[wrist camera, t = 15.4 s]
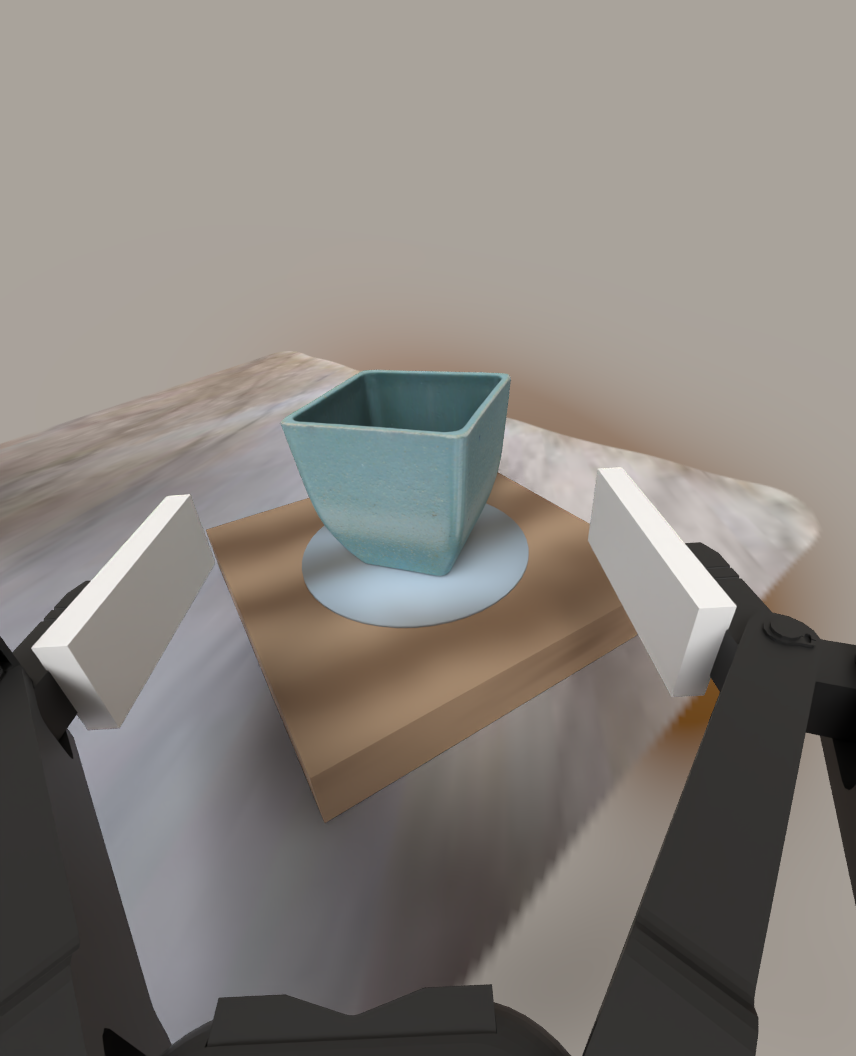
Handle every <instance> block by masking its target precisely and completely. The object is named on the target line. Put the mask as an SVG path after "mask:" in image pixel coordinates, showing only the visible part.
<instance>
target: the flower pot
mask: <svg viewBox="0 0 856 1056" xmlns="http://www.w3.org/2000/svg"><path fill="white" fill-rule="evenodd" d="M510 381H511V377H510V376H509V375H508V374H501V373H483V372H479V373H477V372H433V371H432V372H431V371H391V370H365V371H362V372H360V373H358V374H356V375H354V376H353V377H351V378H349V379H348V380H346V381H345V382H343V383H341V384H340V385H338V386H336V387H335V388H333V389H331V390H330V391H328V392H327V393H325V394H324V395H322V396H320V397H319V398H317V399H315V400H314V401H312V402H310V403H309V404H307V405H305V406H303V407H302V408H300V409H299V410H297V411H295V412H293V413H292V414H290V415H288V416H287V417H285V418H284V419H283V420H282V421H281V423H280V424H281V426H282V428H283V431H284V434H285V436H286V439H287V442H288V444H289V447H290V450H291V452H292V455H293V457H294V460H295V462H296V465H297V468H298V470H299V473H300V475H301V478H302V480H303V483H304V486H305V488H306V491H307V493H308V495H309V498H310V500H311V502H312V504H313V507H314V509H315V511H316V512H317V514H318V516H319V518H320V519H321V521H322V522H323V524H324V525H325V527H326V528H327V529H328V530H329V531H330V533H331V534H332V535H333V536H334V537H335V538H336V539H337V540H338V541H339V542H340V543H341V544H342V545H343V546H344V547H345V548H346V549H347V550H348V551H350V552H351V553H352V554H353V555H355V556H356V557H357V558H359V559H360V560H361V561H363V562H364V563H367V564H372V565H379V566H384V567H390V568H397V569H402V570H408V571H414V572H419V573H425V574H430V575H435V576H443V575H446V574H447V573H449V572H450V570H451V569H452V567H453V565H454V563H455V562H456V560H457V558H458V556H459V554H460V552H461V550H462V548H463V546H464V544H465V543H466V541H467V539H468V537H469V535H470V533H471V531H472V529H473V527H474V525H475V524H476V522H477V520H478V518H479V516H480V514H481V512H482V510H483V509H484V506H485V504H486V502H487V500H488V498H489V495H490V493H491V490H492V488H493V485H494V482H495V479H496V476H497V472H498V468H499V464H500V459H501V453H502V446H503V439H504V431H505V423H506V415H507V407H508V399H509V390H510Z"/></svg>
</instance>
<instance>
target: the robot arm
mask: <svg viewBox="0 0 856 1056" xmlns="http://www.w3.org/2000/svg"><path fill="white" fill-rule="evenodd" d="M588 542H589V544H590V545H591V547H592V549H593V551H594V553H595V555H596V557H597V559H598V560H599V562H600V564H601V566H602V568H603V570H604V572H605V573H606V575H607V577H608V579H609V581H610V583H611V585H612V587H613V588H614V590H615V592H616V594H617V596H618V598H619V600H620V602H621V603H622V605H623V607H624V609H625V611H626V613H627V615H628V617H629V618H630V620H631V622H632V624H633V626H634V628H635V630H636V632H637V633H638V635H639V637H640V639H641V641H642V643H643V645H644V647H645V648H646V650H647V652H648V654H649V656H650V658H651V660H652V661H653V663H654V665H655V667H656V669H657V671H658V673H659V675H660V676H661V678H662V680H663V682H664V684H665V686H666V688H667V690H668V691H669V693H670V695H671V697H682V696H699V695H704V694H705V692H706V689H707V686H708V684H709V681H710V678H712V680H713V682H714V683H715V685H716V686H717V688H718V689H719V691H720V694H719V697H718V699H717V702H716V704H715V707H714V710H713V712H712V714H711V717H710V719H709V723H708V725H707V728H706V731H705V733H704V736H703V739H702V741H701V744H700V746H699V749H698V752H697V754H696V757H695V760H694V762H693V765H692V768H691V770H690V773H689V776H688V778H687V781H686V784H685V786H684V789H683V791H682V794H681V797H680V799H679V802H678V805H677V807H676V810H675V813H674V815H673V818H672V820H671V823H670V826H669V828H668V831H667V834H666V836H665V839H664V842H663V844H662V847H661V850H660V852H659V855H658V858H657V860H656V863H655V865H654V868H653V871H652V873H651V876H650V879H649V881H648V884H647V887H646V889H645V892H644V894H643V897H642V900H641V902H640V905H639V908H638V910H637V913H636V916H635V918H634V921H633V923H632V926H631V929H630V931H629V934H628V937H627V939H626V942H625V945H624V947H623V950H622V953H621V955H620V958H619V960H618V963H617V966H616V968H615V971H614V974H613V976H612V979H611V982H610V984H609V987H608V989H607V992H606V995H605V997H604V1000H603V1002H602V1005H601V1008H600V1010H599V1013H598V1015H597V1018H596V1021H595V1024H594V1026H593V1029H592V1031H591V1034H590V1036H589V1039H588V1042H587V1044H586V1047H585V1050H584V1052H583V1055H582V1056H755V1054H756V1046H757V1039H758V1016H757V1013H756V1010H755V1008H754V996H755V990H756V984H757V978H758V974H759V969H760V964H761V958H762V953H763V948H764V943H765V938H766V933H767V928H768V922H769V917H770V912H771V907H772V902H773V897H774V891H775V887H776V881H777V876H778V871H779V866H780V861H781V856H782V851H783V845H784V841H785V835H786V830H787V825H788V820H789V815H790V810H791V805H792V800H793V794H794V789H795V784H796V779H797V774H798V768H799V763H800V758H801V753H802V748H803V743H804V738H805V733H811V734H816V735H820V738H821V742H822V747H823V752H824V757H825V761H826V765H827V771H828V776H829V780H830V785H831V790H832V795H833V799H834V804H835V809H836V813H837V819H838V823H839V828H840V832H841V837H842V842H843V847H844V852H845V857H846V861H847V866H848V871H849V876H850V880H851V885H852V890H853V895H854V899H855V904H856V645H851V644H845V643H839V642H833V641H826V640H822V639H820V638H819V637H818V635H817V634H816V633H815V632H814V630H812V629H811V628H809V627H808V626H807V625H805V624H804V623H802V622H800V621H798V620H796V619H793V618H791V617H789V616H785V615H781V614H776V613H772V612H771V611H770V610H769V608H768V607H767V606H766V605H765V604H764V603H763V602H762V601H761V600H760V598H759V597H758V596H757V595H756V594H755V593H754V592H753V591H752V590H751V588H750V587H749V586H748V585H747V584H746V583H745V582H744V581H743V580H742V579H740V578H739V575H738V574H737V573H736V572H735V571H734V570H733V569H732V568H730V565H729V564H728V563H727V562H726V561H725V560H724V559H723V557H722V556H721V555H720V554H719V553H718V552H716V551H714V550H713V549H711V548H709V547H708V546H706V545H704V544H703V543H701V542H698V543H684V542H683V541H682V540H681V538H680V537H679V536H678V535H677V533H676V532H675V531H674V530H673V529H672V527H671V526H670V525H669V524H668V523H667V521H666V520H665V519H664V518H663V517H662V515H661V514H660V513H659V512H658V510H657V509H656V508H655V507H654V506H653V504H652V503H651V502H650V501H649V500H648V498H647V497H646V496H645V495H644V494H643V492H642V491H641V490H640V489H639V487H638V486H637V485H636V484H635V483H634V481H633V480H632V479H631V478H630V477H629V475H628V474H627V473H626V472H625V471H624V469H623V468H622V467H617V468H602V469H598V470H597V477H596V485H595V492H594V499H593V506H592V514H591V521H590V528H589V535H588ZM214 564H215V561H214V558H213V555H212V553H211V550H210V547H209V544H208V542H207V539H206V536H205V533H204V530H203V528H202V525H201V522H200V519H199V517H198V514H197V511H196V508H195V506H194V503H193V500H192V497H191V495H190V494H189V495H173V496H166V498H165V499H164V500H163V501H162V502H161V503H160V504H159V505H158V507H157V508H156V509H155V510H154V511H153V512H152V513H151V514H150V515H149V517H148V518H147V519H146V520H145V521H144V522H143V523H142V524H141V526H140V527H139V528H138V529H137V530H136V531H135V532H134V533H133V534H132V536H131V537H130V538H129V539H128V540H127V541H126V542H125V543H124V545H123V546H122V547H121V548H120V549H119V550H118V551H117V552H116V554H115V555H114V556H113V557H112V558H111V559H110V560H109V561H108V562H107V564H106V565H105V566H104V567H103V568H102V569H101V570H100V571H99V573H98V574H97V575H96V576H95V577H94V578H93V579H92V580H91V581H85V582H83V583H82V584H81V585H79V586H78V587H76V588H75V589H73V590H72V591H70V592H69V593H67V594H66V595H65V596H64V597H63V598H62V600H61V601H60V602H59V603H58V604H57V605H56V606H55V607H54V610H51V611H50V613H49V614H48V615H47V616H46V617H45V618H44V622H40V623H39V624H38V625H37V627H36V628H35V629H34V630H33V631H32V632H31V633H30V634H29V635H28V636H27V637H26V638H25V639H24V641H23V642H22V643H21V644H20V645H19V646H18V647H17V648H16V649H15V650H14V651H13V652H11V650H10V649H9V648H8V646H7V645H6V644H5V642H4V641H3V639H2V638H1V637H0V1056H571V1055H570V1054H569V1053H568V1052H567V1051H566V1050H565V1049H564V1047H563V1046H562V1045H561V1044H560V1043H559V1042H558V1041H557V1040H556V1039H555V1038H554V1037H553V1036H552V1035H550V1034H549V1033H548V1032H547V1031H546V1030H545V1029H544V1028H543V1027H541V1026H540V1025H538V1024H537V1023H536V1022H534V1021H533V1020H531V1019H530V1018H528V1017H527V1016H525V1015H523V1014H521V1013H519V1012H517V1011H515V1010H513V1009H512V1008H510V1007H507V1006H503V1005H501V1004H498V1003H495V1002H493V992H492V985H491V984H490V985H469V986H449V987H428V988H423V989H420V990H418V991H415V992H413V993H410V994H408V995H405V996H403V997H400V998H398V999H396V1000H393V1001H391V1002H388V1003H386V1004H383V1005H381V1006H378V1007H376V1008H373V1009H371V1010H368V1011H366V1012H364V1013H361V1014H358V1015H346V1014H343V1013H339V1012H336V1011H333V1010H330V1009H327V1008H324V1007H321V1006H318V1005H315V1004H312V1003H309V1002H306V1001H303V1000H300V999H297V998H294V997H291V996H288V995H265V996H245V997H224V998H219V999H218V1003H217V1007H216V1011H215V1015H214V1019H213V1020H212V1021H209V1022H207V1023H206V1024H204V1025H202V1026H200V1027H199V1028H197V1029H195V1030H193V1031H191V1032H190V1033H188V1034H187V1035H185V1036H184V1037H183V1038H181V1039H180V1040H178V1041H177V1042H176V1043H174V1044H173V1045H171V1042H170V1040H169V1038H168V1035H167V1033H166V1032H165V1030H164V1028H163V1026H162V1024H161V1023H160V1021H159V1019H158V1017H157V1015H156V1013H155V1011H154V1008H153V1006H152V1003H151V1000H150V997H149V993H148V990H147V986H146V983H145V979H144V976H143V973H142V969H141V966H140V962H139V959H138V956H137V952H136V949H135V945H134V942H133V938H132V935H131V932H130V928H129V925H128V921H127V918H126V915H125V911H124V908H123V904H122V901H121V897H120V894H119V891H118V887H117V884H116V880H115V877H114V874H113V870H112V867H111V863H110V860H109V857H108V853H107V850H106V846H105V843H104V839H103V836H102V833H101V829H100V826H99V822H98V819H97V816H96V812H95V809H94V805H93V802H92V798H91V795H90V792H89V788H88V785H87V781H86V778H85V775H84V771H83V768H82V764H81V761H80V757H79V754H78V751H77V747H76V744H75V740H74V737H73V736H72V735H71V733H70V732H69V730H68V729H67V728H68V726H69V725H70V723H71V722H72V720H73V719H74V718H75V716H76V715H78V717H79V718H80V720H81V721H82V722H83V724H84V725H85V727H86V728H87V730H99V729H117V728H120V727H121V725H122V723H123V721H124V720H125V718H126V716H127V715H128V713H129V711H130V709H131V708H132V706H133V704H134V702H135V701H136V699H137V697H138V696H139V694H140V692H141V690H142V689H143V687H144V685H145V683H146V682H147V680H148V678H149V677H150V675H151V673H152V671H153V670H154V668H155V666H156V664H157V663H158V661H159V659H160V658H161V656H162V654H163V652H164V651H165V649H166V647H167V646H168V644H169V642H170V640H171V639H172V637H173V635H174V633H175V632H176V630H177V628H178V627H179V625H180V623H181V621H182V620H183V618H184V616H185V614H186V613H187V611H188V609H189V608H190V606H191V604H192V602H193V601H194V599H195V597H196V595H197V594H198V592H199V590H200V589H201V587H202V585H203V583H204V582H205V580H206V578H207V577H208V575H209V573H210V571H211V570H212V568H213V566H214Z"/></svg>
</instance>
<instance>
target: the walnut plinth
mask: <svg viewBox="0 0 856 1056" xmlns="http://www.w3.org/2000/svg"><path fill="white" fill-rule="evenodd" d="M589 528H590V524H589V523H587V522H585V521H584V520H582V519H580V518H578V517H576V516H575V515H573V514H571V513H569V512H567V511H566V510H564V509H562V508H560V507H559V506H557V505H555V504H553V503H551V502H550V501H548V500H546V499H544V498H543V497H541V496H539V495H537V494H535V493H534V492H532V491H530V490H528V489H526V488H525V487H523V486H521V485H519V484H518V483H516V482H514V481H512V480H510V479H509V478H507V477H505V476H503V475H502V474H500V473H498V472H497V476H496V479H495V482H494V485H493V488H492V490H491V493H490V495H489V498H488V500H487V502H486V504H485V506H484V509H483V510H482V512H481V514H480V516H479V518H478V520H477V522H476V524H475V525H474V527H473V529H472V531H471V533H470V535H469V537H468V539H467V541H466V543H465V544H464V546H463V548H462V550H461V552H460V554H459V556H458V558H457V560H456V562H455V563H454V565H453V567H452V569H451V570H450V572H449V573H447V574H446V575H443V576H435V575H430V574H425V573H419V572H414V571H408V570H402V569H397V568H390V567H384V566H379V565H372V564H367V563H364V562H363V561H361V560H360V559H359V558H357V557H356V556H355V555H353V554H352V553H351V552H350V551H348V550H347V549H346V548H345V547H344V546H343V545H342V544H341V543H340V542H339V541H338V540H337V539H336V538H335V537H334V536H333V535H332V534H331V533H330V531H329V530H328V529H327V528H326V527H325V525H324V524H323V522H322V521H321V519H320V518H319V516H318V514H317V512H316V511H315V509H314V507H313V504H312V502H311V500H310V498H307V499H304V500H301V501H297V502H294V503H291V504H288V505H284V506H281V507H278V508H275V509H272V510H268V511H265V512H262V513H259V514H255V515H252V516H249V517H246V518H242V519H239V520H236V521H233V522H230V523H226V524H223V525H220V526H217V527H213V528H210V529H207V530H206V531H207V534H208V537H209V540H210V543H211V545H212V548H213V551H214V554H215V557H216V559H217V562H218V565H219V568H220V570H221V572H222V575H223V577H224V580H225V582H226V585H227V587H228V589H229V592H230V594H231V597H232V599H233V602H234V604H235V606H236V609H237V611H238V614H239V616H240V619H241V621H242V623H243V626H244V628H245V631H246V633H247V636H248V638H249V640H250V643H251V645H252V648H253V650H254V653H255V655H256V657H257V660H258V662H259V665H260V667H261V670H262V672H263V674H264V677H265V679H266V682H267V684H268V687H269V689H270V691H271V694H272V696H273V699H274V701H275V704H276V706H277V708H278V711H279V713H280V716H281V718H282V721H283V723H284V725H285V728H286V730H287V733H288V735H289V738H290V740H291V742H292V745H293V747H294V750H295V752H296V755H297V757H298V760H299V762H300V764H301V767H302V769H303V772H304V774H305V777H306V779H307V781H308V784H309V786H310V789H311V791H312V794H313V796H314V798H315V801H316V803H317V806H318V808H319V811H320V813H321V815H322V818H323V820H324V823H326V822H328V821H330V820H331V819H333V818H335V817H336V816H338V815H339V814H341V813H343V812H344V811H346V810H348V809H349V808H351V807H353V806H354V805H356V804H358V803H359V802H361V801H363V800H364V799H366V798H368V797H369V796H371V795H373V794H374V793H376V792H378V791H379V790H381V789H383V788H384V787H386V786H388V785H389V784H391V783H393V782H394V781H396V780H398V779H399V778H401V777H403V776H404V775H406V774H407V773H409V772H411V771H412V770H414V769H416V768H417V767H419V766H421V765H422V764H424V763H426V762H427V761H429V760H431V759H432V758H434V757H436V756H437V755H439V754H441V753H442V752H444V751H446V750H447V749H449V748H451V747H452V746H454V745H456V744H457V743H459V742H461V741H462V740H464V739H466V738H467V737H469V736H471V735H472V734H474V733H476V732H477V731H479V730H480V729H482V728H484V727H485V726H487V725H489V724H490V723H492V722H494V721H495V720H497V719H499V718H500V717H502V716H504V715H505V714H507V713H509V712H510V711H512V710H514V709H515V708H517V707H519V706H520V705H522V704H524V703H525V702H527V701H529V700H530V699H532V698H534V697H535V696H537V695H539V694H540V693H542V692H544V691H545V690H547V689H548V688H550V687H552V686H553V685H555V684H557V683H558V682H560V681H562V680H563V679H565V678H567V677H568V676H570V675H572V674H573V673H575V672H577V671H578V670H580V669H582V668H583V667H585V666H587V665H588V664H590V663H592V662H593V661H595V660H597V659H598V658H600V657H602V656H603V655H605V654H607V653H608V652H610V651H612V650H613V649H615V648H617V647H618V646H620V645H621V644H623V643H625V642H626V641H628V640H630V639H631V638H633V637H635V636H636V635H638V633H637V632H636V630H635V628H634V626H633V624H632V622H631V620H630V618H629V617H628V615H627V613H626V611H625V609H624V607H623V605H622V603H621V602H620V600H619V598H618V596H617V594H616V592H615V590H614V588H613V587H612V585H611V583H610V581H609V579H608V577H607V575H606V573H605V572H604V570H603V568H602V566H601V564H600V562H599V560H598V559H597V557H596V555H595V553H594V551H593V549H592V547H591V545H590V544H589V542H588V535H589Z"/></svg>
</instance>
